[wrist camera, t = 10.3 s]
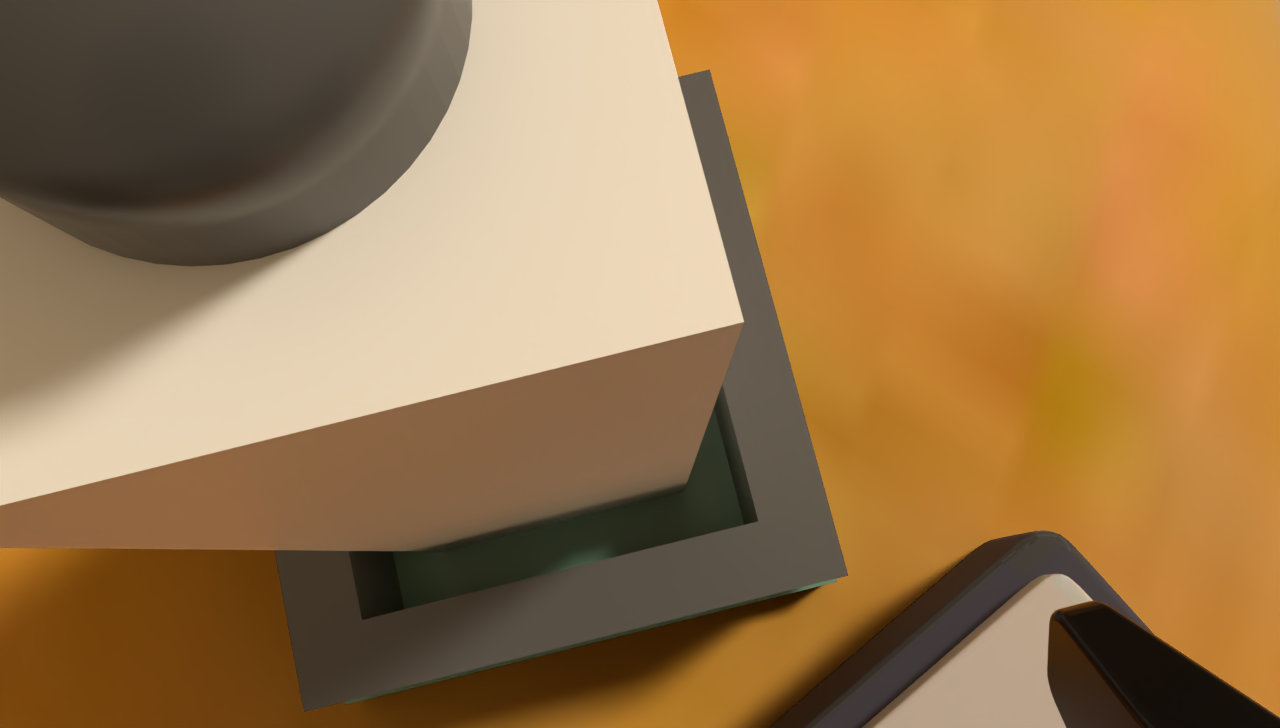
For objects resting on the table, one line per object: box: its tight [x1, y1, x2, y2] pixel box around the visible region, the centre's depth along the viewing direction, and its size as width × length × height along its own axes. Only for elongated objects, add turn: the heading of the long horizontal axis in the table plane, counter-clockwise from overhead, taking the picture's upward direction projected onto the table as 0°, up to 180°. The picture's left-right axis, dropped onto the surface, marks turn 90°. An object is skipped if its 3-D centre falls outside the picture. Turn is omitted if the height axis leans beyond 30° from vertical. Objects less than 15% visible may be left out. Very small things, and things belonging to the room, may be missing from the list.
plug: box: [0, 0, 744, 552], centre depth 11 cm, size 4×4×14 cm
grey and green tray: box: [274, 70, 848, 712], centre depth 17 cm, size 8×8×3 cm
